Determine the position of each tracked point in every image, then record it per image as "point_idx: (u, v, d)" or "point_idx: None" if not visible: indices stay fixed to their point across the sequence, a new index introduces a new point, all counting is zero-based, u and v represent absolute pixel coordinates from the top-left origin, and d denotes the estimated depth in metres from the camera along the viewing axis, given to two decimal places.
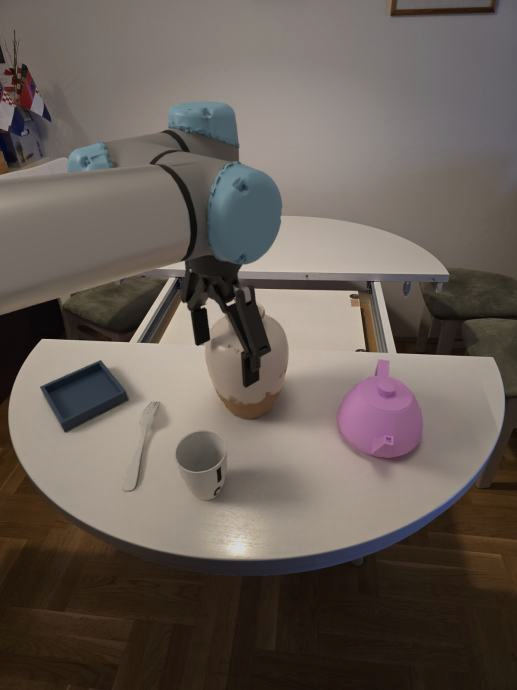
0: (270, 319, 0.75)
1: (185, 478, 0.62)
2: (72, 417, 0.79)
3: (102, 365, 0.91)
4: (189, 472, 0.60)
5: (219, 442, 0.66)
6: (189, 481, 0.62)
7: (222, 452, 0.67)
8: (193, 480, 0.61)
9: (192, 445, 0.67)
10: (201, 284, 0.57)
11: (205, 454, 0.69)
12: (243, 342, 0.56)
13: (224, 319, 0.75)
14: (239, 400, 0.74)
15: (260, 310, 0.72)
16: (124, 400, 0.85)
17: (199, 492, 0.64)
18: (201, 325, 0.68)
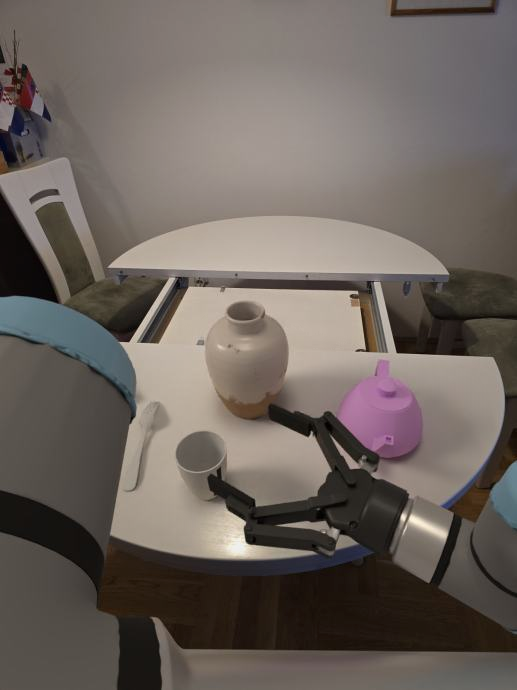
0: (270, 319, 0.75)
1: (185, 478, 0.62)
2: None
3: None
4: (189, 472, 0.60)
5: (219, 442, 0.66)
6: (189, 481, 0.62)
7: (222, 452, 0.67)
8: (193, 480, 0.61)
9: (192, 445, 0.67)
10: (349, 477, 0.47)
11: (205, 454, 0.69)
12: (267, 512, 0.45)
13: (224, 319, 0.75)
14: (239, 399, 0.74)
15: (260, 310, 0.72)
16: None
17: (199, 492, 0.64)
18: (290, 422, 0.56)
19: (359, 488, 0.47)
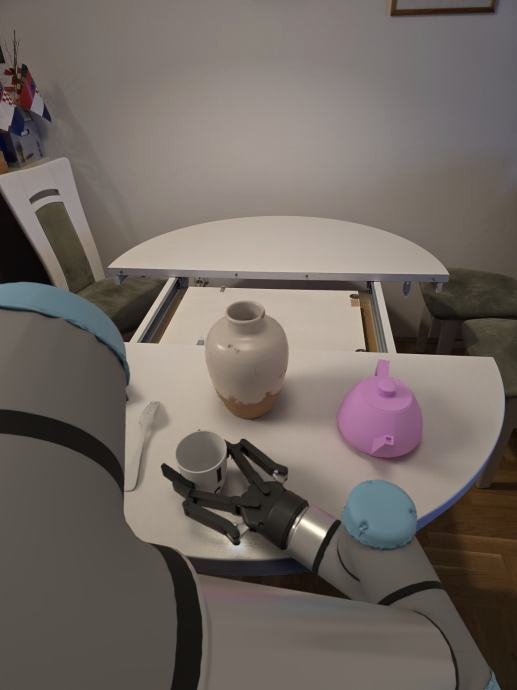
0: (270, 319, 0.75)
1: None
2: None
3: None
4: (189, 472, 0.60)
5: (219, 442, 0.66)
6: None
7: (222, 452, 0.67)
8: (193, 480, 0.61)
9: (192, 445, 0.67)
10: (264, 488, 0.60)
11: (205, 454, 0.69)
12: (200, 495, 0.60)
13: (224, 319, 0.75)
14: (239, 399, 0.74)
15: (260, 310, 0.72)
16: None
17: None
18: None
19: (272, 496, 0.60)
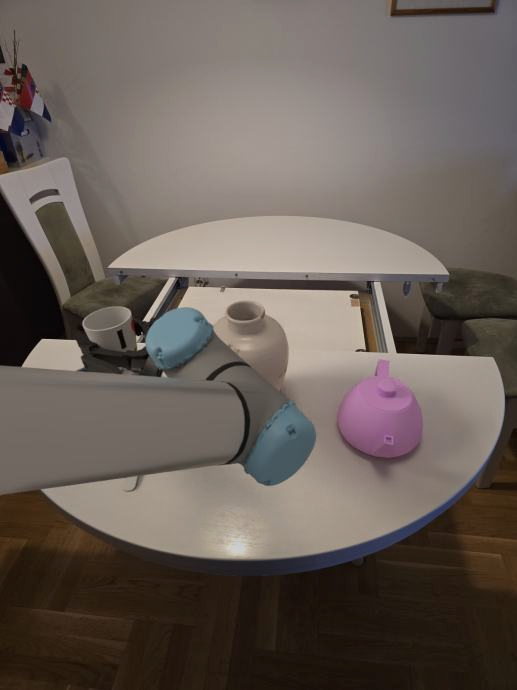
0: (270, 319, 0.75)
1: None
2: None
3: None
4: (90, 330, 0.66)
5: (129, 317, 0.72)
6: None
7: None
8: (96, 341, 0.67)
9: (107, 322, 0.73)
10: None
11: None
12: (98, 351, 0.66)
13: (224, 319, 0.75)
14: None
15: (260, 310, 0.72)
16: None
17: None
18: None
19: None
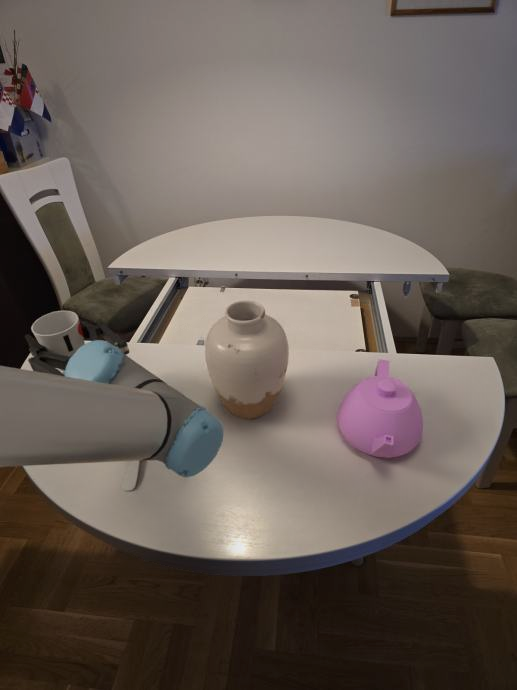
0: (270, 319, 0.75)
1: None
2: None
3: None
4: (38, 335, 0.72)
5: None
6: None
7: None
8: (44, 344, 0.73)
9: (57, 324, 0.79)
10: None
11: None
12: (45, 355, 0.72)
13: (224, 319, 0.75)
14: (239, 399, 0.74)
15: (260, 310, 0.72)
16: None
17: None
18: None
19: None
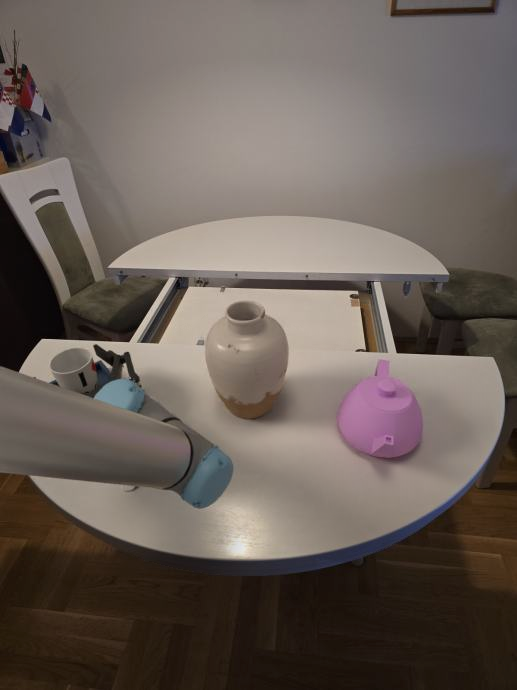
0: (270, 319, 0.75)
1: (56, 380, 0.80)
2: None
3: (102, 365, 0.91)
4: (55, 373, 0.78)
5: (91, 357, 0.83)
6: (59, 382, 0.80)
7: None
8: (60, 381, 0.79)
9: (71, 359, 0.84)
10: None
11: None
12: None
13: (224, 319, 0.75)
14: (239, 399, 0.74)
15: (260, 310, 0.72)
16: None
17: None
18: (104, 357, 0.86)
19: None
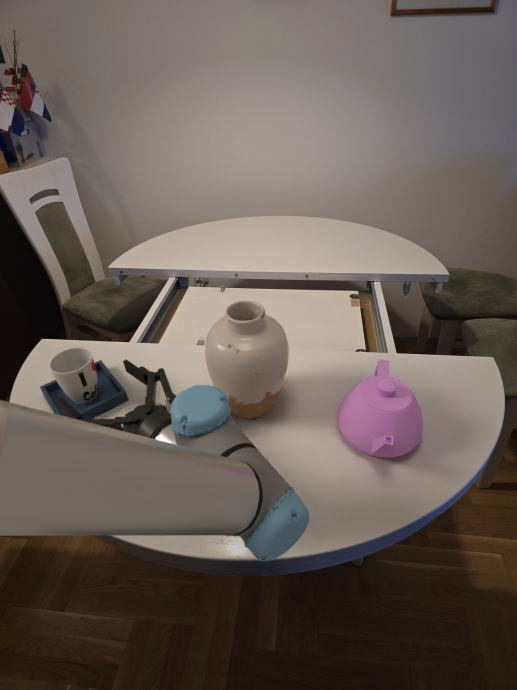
0: (270, 319, 0.75)
1: (56, 380, 0.80)
2: None
3: (102, 365, 0.91)
4: (55, 373, 0.78)
5: (91, 357, 0.83)
6: (59, 382, 0.80)
7: None
8: (60, 381, 0.79)
9: (71, 359, 0.84)
10: (146, 408, 0.68)
11: None
12: None
13: (224, 319, 0.75)
14: (239, 399, 0.74)
15: (260, 310, 0.72)
16: (124, 400, 0.85)
17: (70, 394, 0.82)
18: (135, 374, 0.78)
19: None
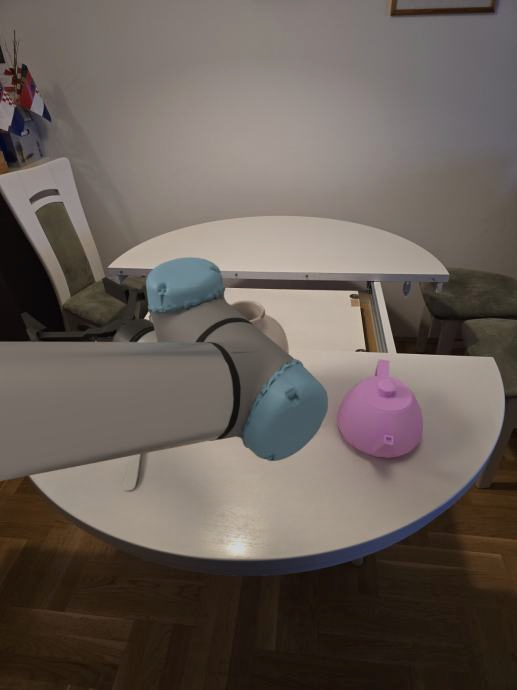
0: (270, 319, 0.75)
1: None
2: None
3: None
4: None
5: None
6: None
7: None
8: None
9: None
10: (126, 319, 0.57)
11: None
12: (50, 335, 0.55)
13: None
14: None
15: (260, 310, 0.72)
16: None
17: None
18: (116, 292, 0.66)
19: None
